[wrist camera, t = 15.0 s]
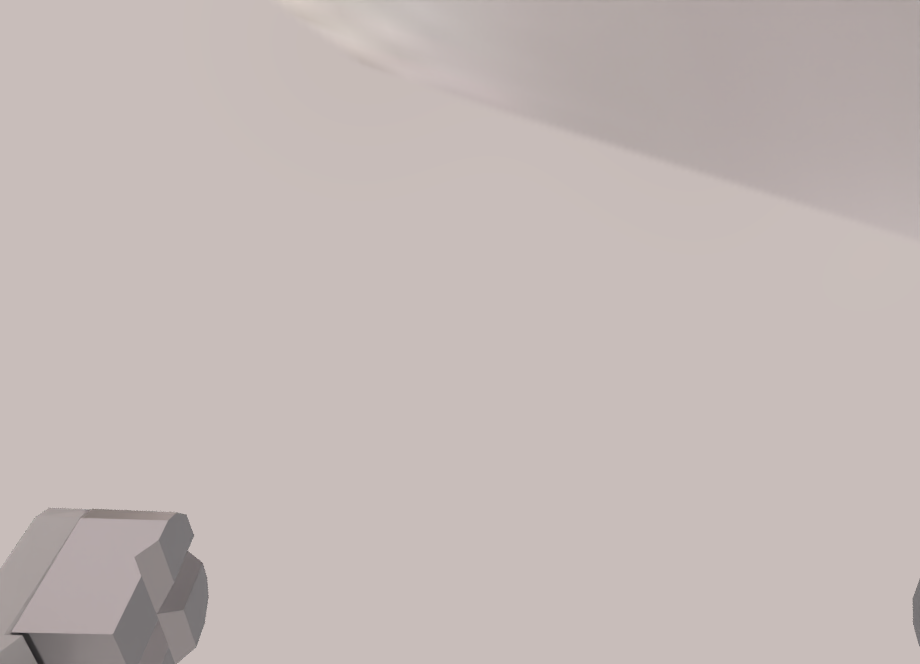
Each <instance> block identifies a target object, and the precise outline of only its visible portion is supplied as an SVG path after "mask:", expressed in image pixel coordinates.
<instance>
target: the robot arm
mask: <svg viewBox="0 0 920 664" xmlns="http://www.w3.org/2000/svg"><path fill="white" fill-rule="evenodd" d="M193 537H194V534H193V531H192V529H191V526H190V524H189V520H188V518H187V515H185V514H181V513H177V512H155V511H131V510H106V509H92V510H91V509H65V508H48V509H47V510H45V511H44V512H42V513H41V514H39V515H38V516H36V517H35V518H34V520H33V521H32V523H31V524H30V526H29V527H28V529H27V530H26V531H25V533H24V535H23V536H22V537H21V539H20V540H19V542H18V543H17V545H16V547H15V548H14V549H13V551H12V552H11V554H10V555H9V557H8V558H7V560H6V561H5V563H4V564H3V566H2V567H1V568H0V664H177V663H178V662H179V661H180V660H182V659H183V658H184V657H185V656H186V655H187V654H189V653H190V652H191V651H192V650H193V649H194V648H196V646H197V643H198V641H199V638H200V635H201V632H202V629H203V626H204V623H205V617H206V610H207V603H208V584H207V576H206V573H205V569H204V566H203V563H202V562H201V561H200V560H198V559H197V558H196V557H195V556H193V555H192V554H191V553H190V552H188V548H189V546H190V544H191V542H192V539H193ZM913 625H914V629H915V632H916V636H917V639H918V643H919V646H920V580H919V583H918V586H917V588H916V591H915V594H914V597H913Z"/></svg>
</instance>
